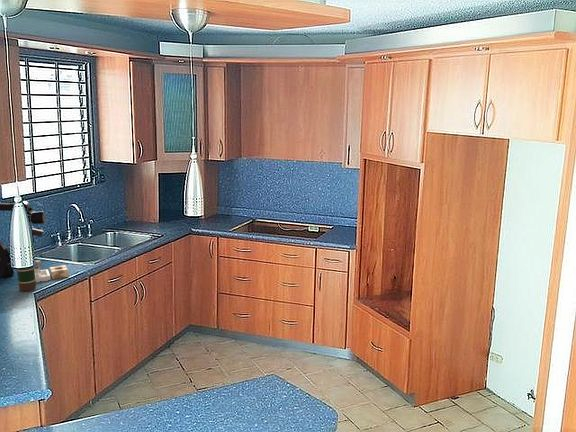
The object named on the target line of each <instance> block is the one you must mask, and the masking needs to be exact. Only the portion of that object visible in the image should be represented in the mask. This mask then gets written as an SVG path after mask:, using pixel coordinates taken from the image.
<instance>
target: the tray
mask: <svg viewBox="0 0 576 432" xmlns="http://www.w3.org/2000/svg"><path fill="white" fill-rule="evenodd" d="M40 271H41V277H35V280H36V283H40V281H42V282H47V281H48V280H49V281H51V279H52V277H51V273H50V272H49V271H50V270H49V269H40ZM49 281H48V282H49Z"/></svg>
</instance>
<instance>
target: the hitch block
mask: <svg viewBox="0 0 576 432" xmlns="http://www.w3.org/2000/svg"><path fill="white" fill-rule="evenodd" d="M49 271H50V272H49V274H50V278H51V279H52V280H54V279H55V278H56V279H62V277H63V278H68V277H69V269H68V266H66V264H64V265H58V266H57V265H56V266H50V267H49Z"/></svg>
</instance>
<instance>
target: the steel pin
mask: <svg viewBox="0 0 576 432" xmlns="http://www.w3.org/2000/svg"><path fill="white" fill-rule="evenodd" d="M34 261H35V264H34V271H35V277H41V271H40V270H41V267H42V261H41V259H36V260H34Z"/></svg>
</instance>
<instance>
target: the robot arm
mask: <svg viewBox="0 0 576 432" xmlns="http://www.w3.org/2000/svg"><path fill="white" fill-rule="evenodd" d="M22 201H23V203H24V206H25V208H26V211H27V214H28V218H29V222H30V226H31V230H32V237H33V244H34V243H35V238H34V236H37V237H39V238H43V234H44V230H43V229H41V226H37V227H36V228H35V227H33V225H45V224H46V222H47V216H46V215H45V211H44V210H42V211H35V210H34V209H33V208H32V206H31V204H30V203H29V202H28V201H26V200H22ZM14 203H15V202H11V203H10V202H0V212H1V211H2V212H5V211H7V212H8V211H9V212H13V211H12V208H13V204H14ZM32 224H33V225H32ZM9 246H10V245H8V246H6V245H4V244H3V241H1V240H0V279H3V278H11V277H14V274H15V272H14V267H13V268H11V265H10V257H9Z"/></svg>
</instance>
